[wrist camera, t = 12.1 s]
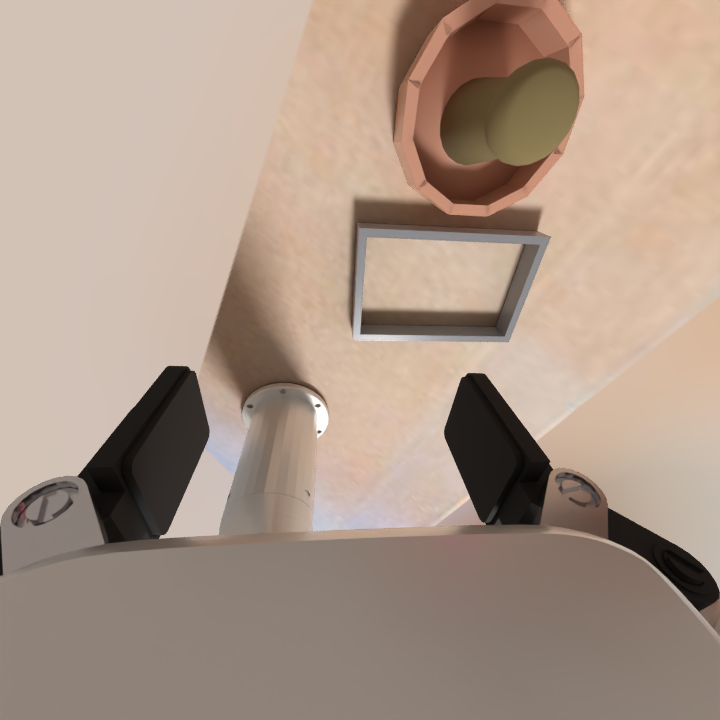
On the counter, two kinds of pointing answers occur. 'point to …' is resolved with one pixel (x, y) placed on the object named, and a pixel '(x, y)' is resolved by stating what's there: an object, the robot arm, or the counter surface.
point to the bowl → (461, 64)
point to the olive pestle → (511, 115)
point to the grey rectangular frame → (524, 271)
